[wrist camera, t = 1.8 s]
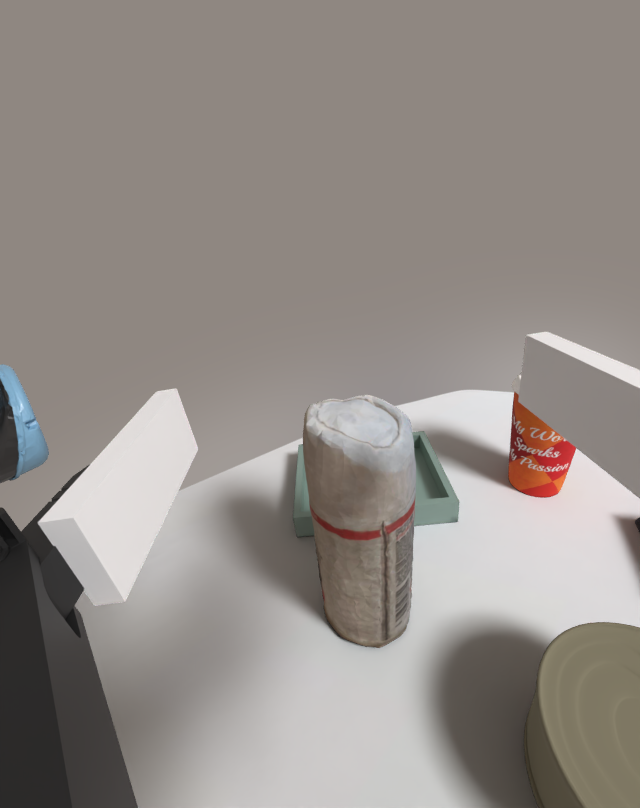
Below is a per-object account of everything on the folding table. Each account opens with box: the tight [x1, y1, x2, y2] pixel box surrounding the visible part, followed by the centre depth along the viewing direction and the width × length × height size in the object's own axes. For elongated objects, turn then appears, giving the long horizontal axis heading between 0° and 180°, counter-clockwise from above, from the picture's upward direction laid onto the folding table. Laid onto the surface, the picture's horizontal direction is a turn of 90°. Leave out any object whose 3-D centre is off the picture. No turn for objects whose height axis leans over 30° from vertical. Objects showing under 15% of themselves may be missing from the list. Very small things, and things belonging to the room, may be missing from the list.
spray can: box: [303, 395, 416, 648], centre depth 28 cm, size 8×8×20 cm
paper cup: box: [508, 372, 576, 497], centre depth 40 cm, size 8×8×14 cm
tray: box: [293, 431, 459, 537], centre depth 45 cm, size 18×14×3 cm
